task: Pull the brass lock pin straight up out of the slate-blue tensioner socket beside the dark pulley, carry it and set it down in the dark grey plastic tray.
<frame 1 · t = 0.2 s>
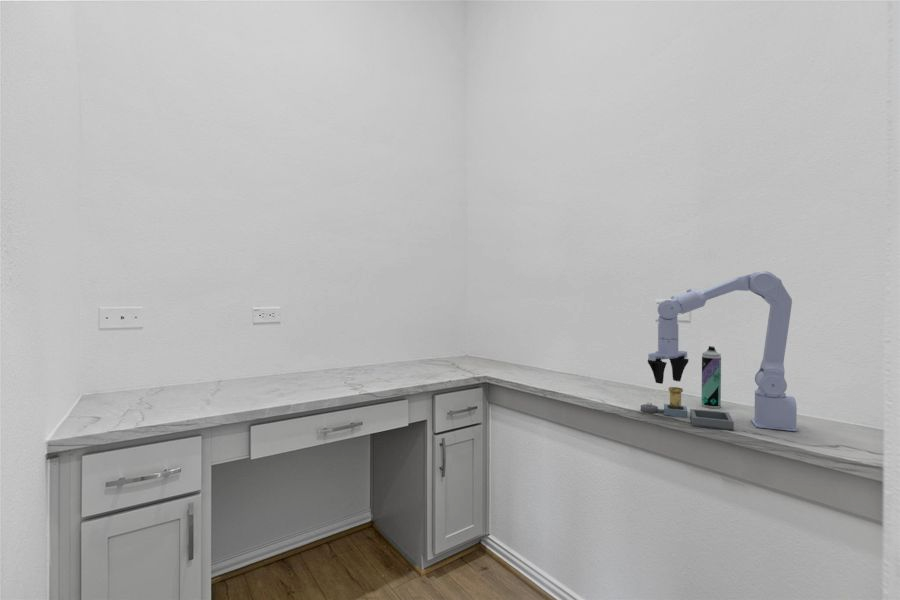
hand: (668, 382, 139), 10 cm above the worktop, fingers open, 7 cm apart
tensioner: (675, 413, 140), on the worktop
spray can: (710, 407, 148), on the worktop
pin: (675, 401, 140), in the tensioner
tray: (710, 423, 130), on the worktop
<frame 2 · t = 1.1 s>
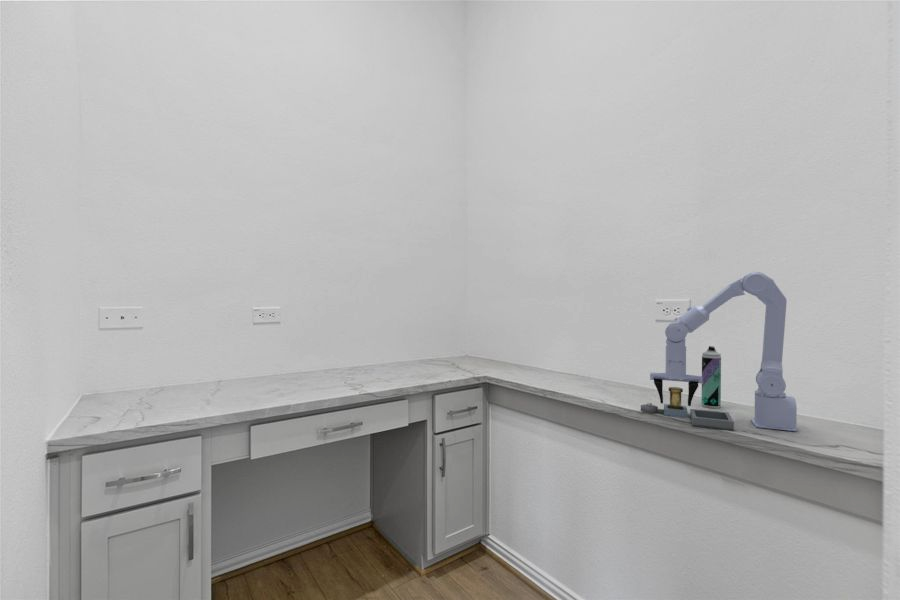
hand: (675, 404, 140), 3 cm above the worktop, fingers open, 7 cm apart
nothing on the worktop moved.
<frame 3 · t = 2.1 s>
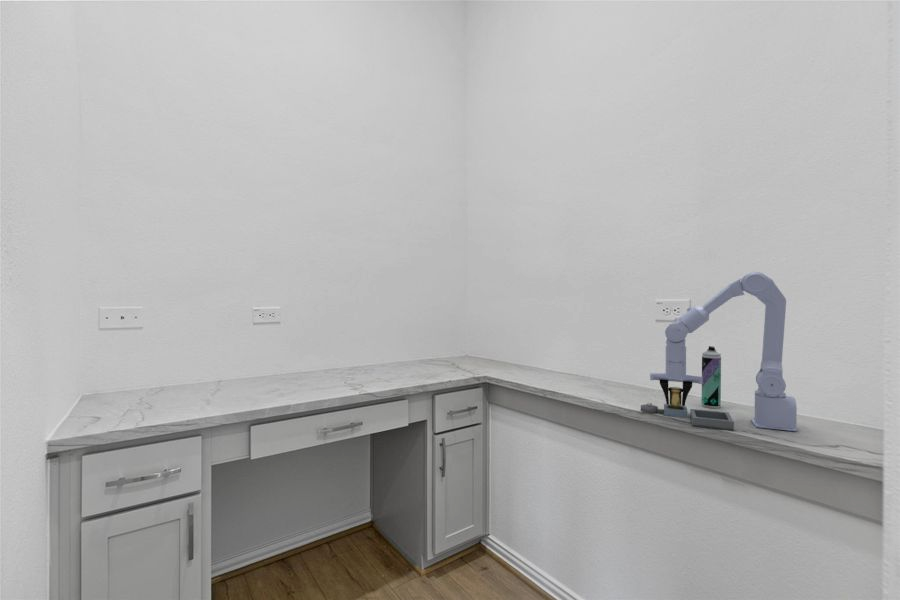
hand: (675, 404, 140), 3 cm above the worktop, fingers closed on pin, 4 cm apart
pin: (675, 401, 140), in the tensioner, touching gripper
everything else where it was.
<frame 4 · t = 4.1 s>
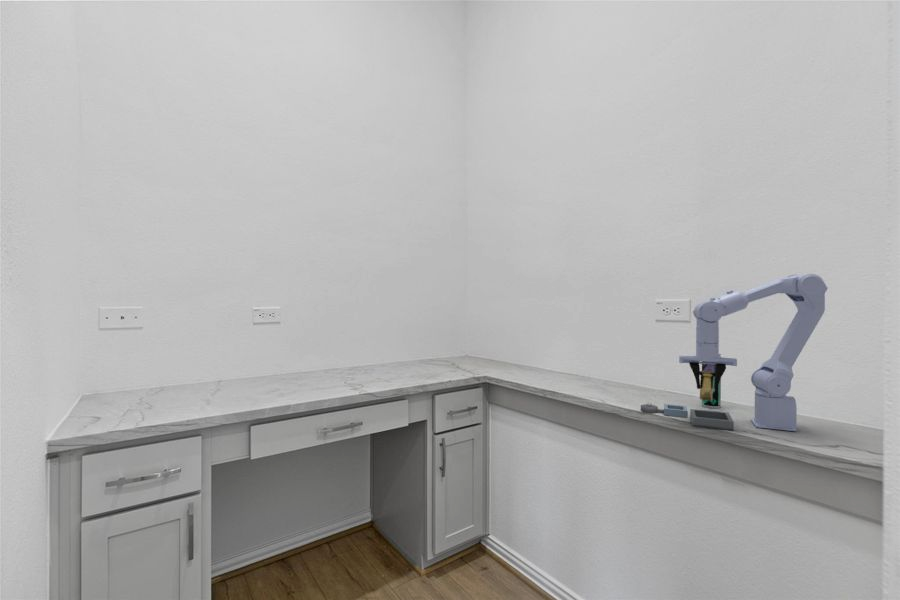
hand: (707, 388, 131), 10 cm above the worktop, fingers closed on pin, 4 cm apart
pin: (706, 385, 131), point 11 cm above the worktop, touching gripper
everything else where it was.
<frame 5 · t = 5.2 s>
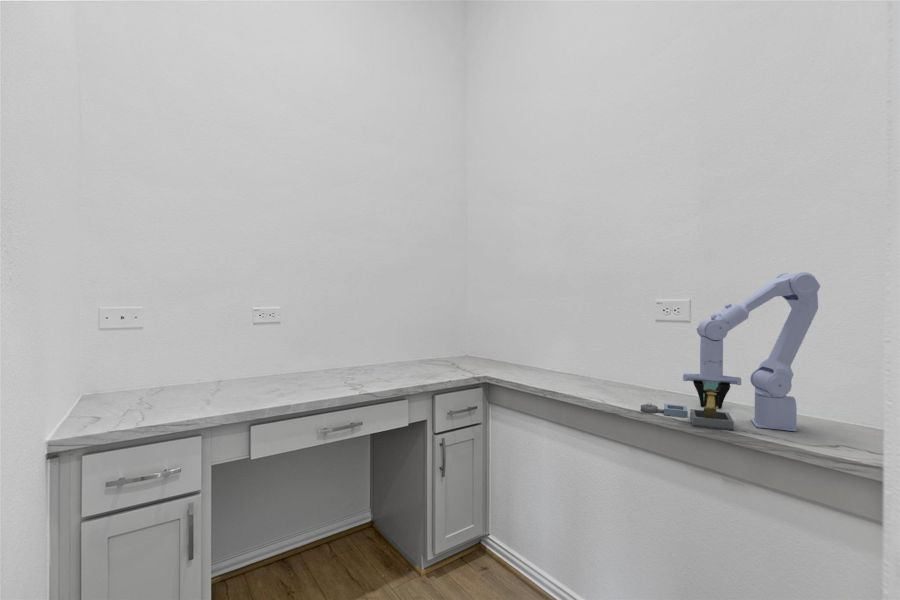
hand: (710, 407, 130), 5 cm above the worktop, fingers closed on pin, 4 cm apart
pin: (710, 404, 130), point 6 cm above the worktop, touching gripper
everything else where it was.
when the fingers open (4 cm above the worktop, at t = 6.1 s): pin stays where it is, resting on tray.
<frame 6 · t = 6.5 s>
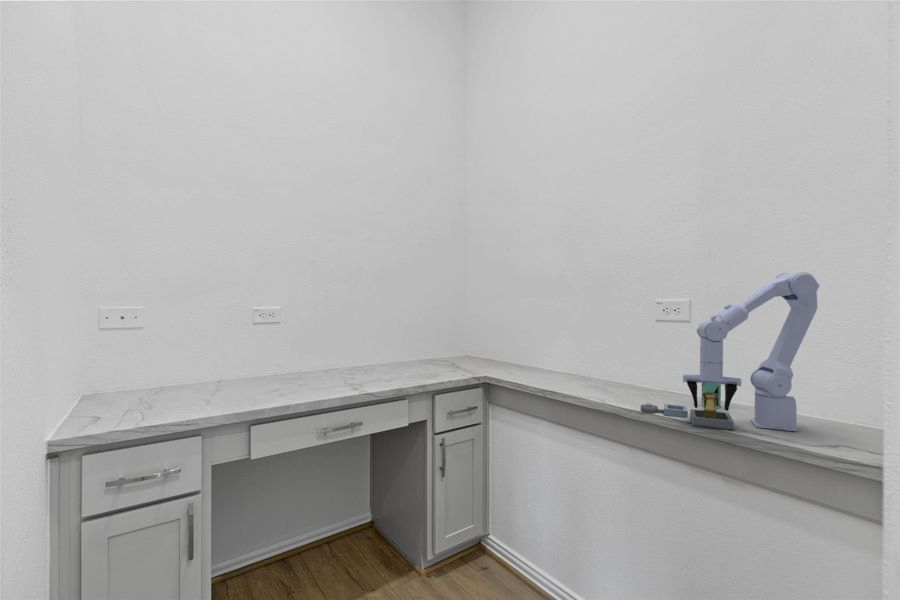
hand: (710, 408, 130), 4 cm above the worktop, fingers open, 7 cm apart
pin: (709, 407, 130), in the tray, point 5 cm above the worktop
everything else where it was.
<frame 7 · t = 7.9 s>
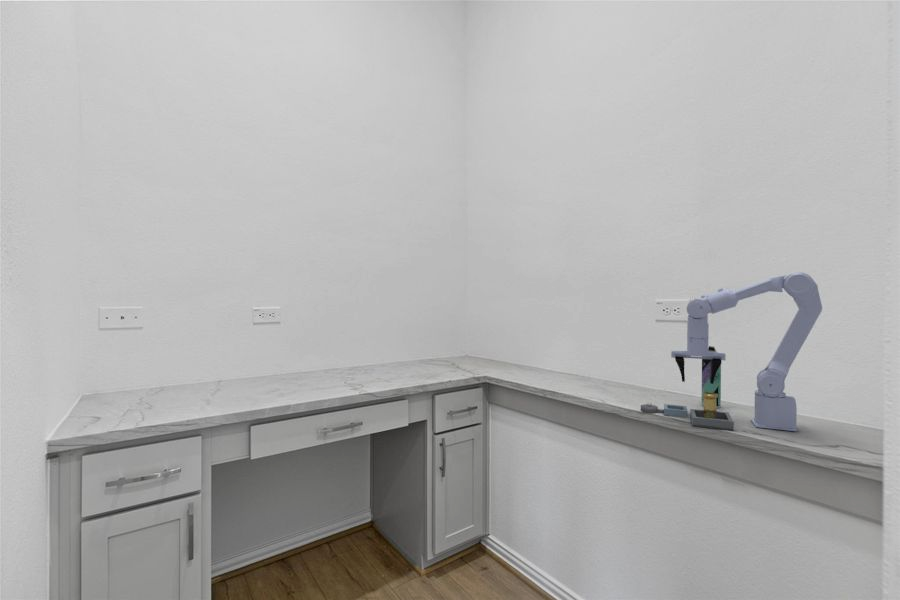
hand: (697, 382, 138), 10 cm above the worktop, fingers open, 7 cm apart
nothing on the worktop moved.
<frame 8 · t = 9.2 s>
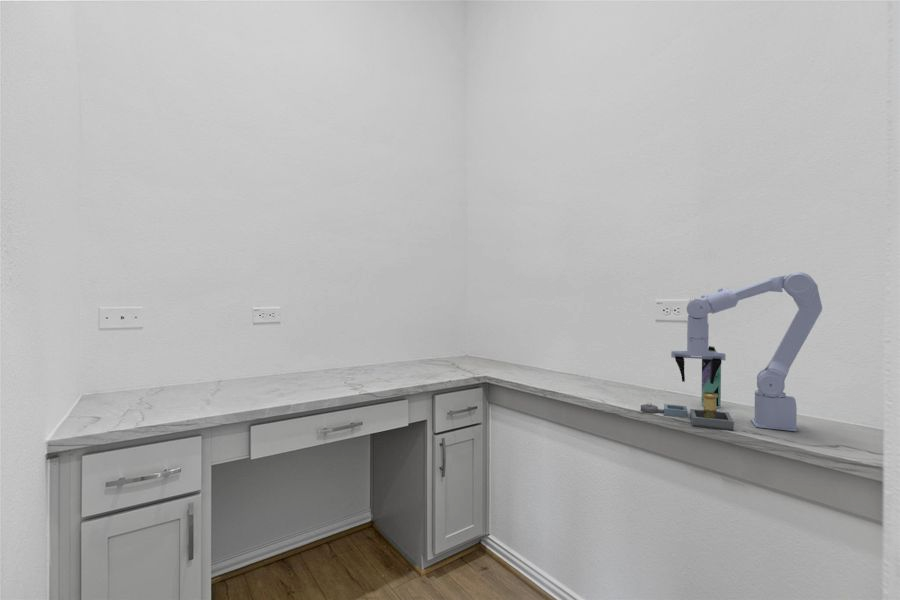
hand: (697, 382, 138), 10 cm above the worktop, fingers open, 7 cm apart
nothing on the worktop moved.
at the end: pin inside the target area on the tray (0.4 cm from its centre), point 4.6 cm above the tray's base; the gripper is holding nothing; pin moved 11.1 cm from its start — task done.
